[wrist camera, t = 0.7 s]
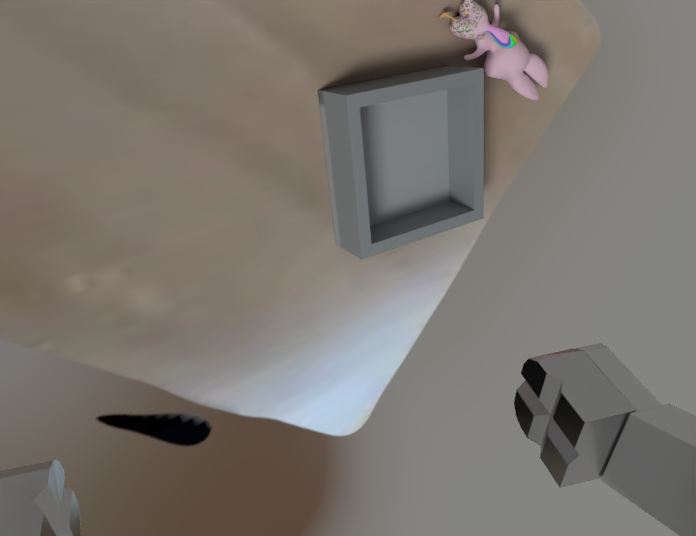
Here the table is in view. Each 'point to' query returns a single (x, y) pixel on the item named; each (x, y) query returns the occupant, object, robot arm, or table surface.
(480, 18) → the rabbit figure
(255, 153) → the table surface
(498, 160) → the table surface
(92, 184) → the table surface
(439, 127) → the cartridge bin
